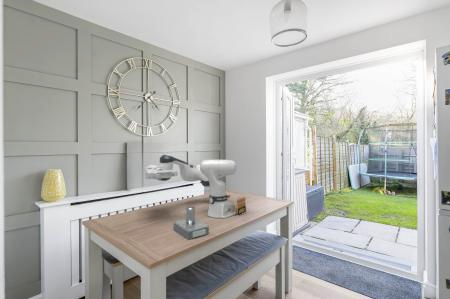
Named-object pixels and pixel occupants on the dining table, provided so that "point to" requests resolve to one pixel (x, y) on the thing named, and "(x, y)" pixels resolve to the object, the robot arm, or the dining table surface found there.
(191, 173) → the robot arm
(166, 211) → the dining table surface
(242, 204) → the ammunition clip
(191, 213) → the cylinder
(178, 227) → the kitchen scale
